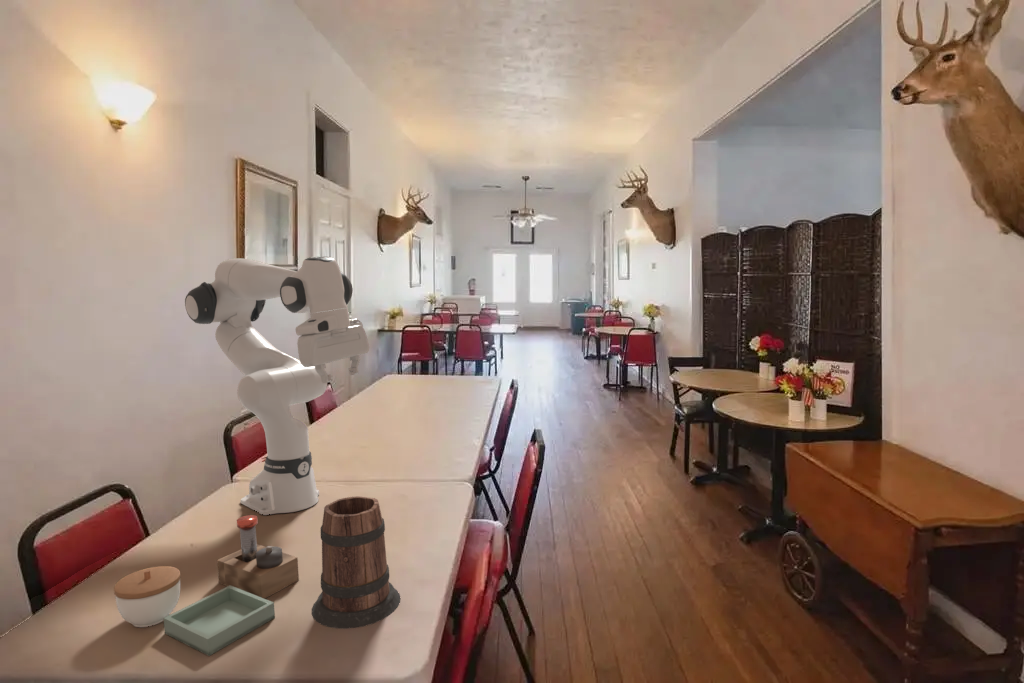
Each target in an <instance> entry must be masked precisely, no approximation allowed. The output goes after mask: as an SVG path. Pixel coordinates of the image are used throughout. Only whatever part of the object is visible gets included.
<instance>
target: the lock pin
mask: <svg viewBox="0 0 1024 683" xmlns="http://www.w3.org/2000/svg"><path fill="white" fill-rule="evenodd" d="M258 523H259V520H258V516H257V515H254V514H249V515H244V516H240V517H238V518H237V519H236V527H237V528H239V535H240V536H239V537H240V550H242V561H244V562H246V563H248V562H250V561H252V560H254V559H256V553H257V544H258V542H257V531H256V525H258Z"/></svg>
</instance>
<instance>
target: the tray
mask: <svg viewBox="0 0 1024 683" xmlns="http://www.w3.org/2000/svg"><path fill="white" fill-rule="evenodd" d="M275 612H276V611H275V602H274V601H271V600H269V599H266V598H265V599H264V598H261V597H259V596H256V595H254V594H251V593H249V592H246V591H244V590H241V589H238V588H236V587H233V586H231V585H230V586H226V587H223V588H221V589H220V590H217V591H216V592H214V593H212V594H209V595H207V596H206V597H203V598H201V599H199V600H198V601H195V602H194V603H191V604H189V605H187V606H185V607H183V608H180V609H179V610H177V611H175V612H173V613H170V614H169V616H166V617H164V621H163V627H164V634H165V635H167V636H169V637H171V638H173V639H175V640H176V641H179V642H180V643H183V644H185V645H186V646H187V647H188V646H189V647H190V648H192V649H194V650H197V651H198V652H200V653H202V654H204V655H207V656H208V657H210V656H212V655H213V654H214V653H217V652H219V651H220V650H222V649H224V648H226V647H227V646H229V645H230V644H232V643H234V642H235V641H237V640H239V639H240V638H243V637H244V636H247V634H249V633H251V632H253V631H254V630H257V629H258V628H259V627H261V626H263V625H265V624H267V623H268V622H270V621H271V620H273V619H275V618H276V613H275Z"/></svg>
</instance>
